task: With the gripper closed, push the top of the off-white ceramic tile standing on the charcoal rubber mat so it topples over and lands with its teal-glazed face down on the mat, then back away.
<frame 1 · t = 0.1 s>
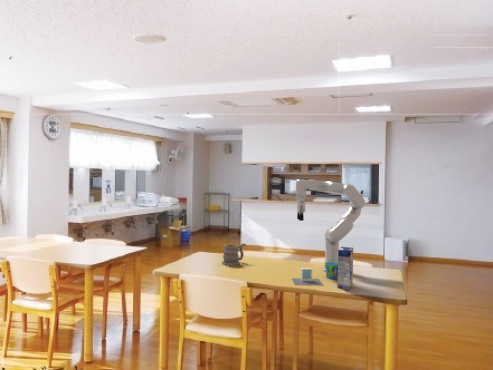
hand: (300, 219, 291), 37 cm above the table, tool pointing down, fingers open, 9 cm apart
juice carton: (344, 287, 247), on the table
tankard: (234, 263, 310), on the table
snack cup: (332, 278, 268), on the table
mat: (307, 282, 256), on the table
tile: (306, 280, 259), point 1 cm above the table, touching mat
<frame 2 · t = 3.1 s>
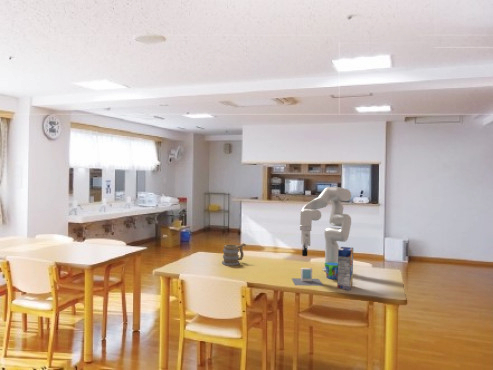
hand: (304, 255, 265), 15 cm above the table, tool pointing down, fingers closed
nothing on the table moved.
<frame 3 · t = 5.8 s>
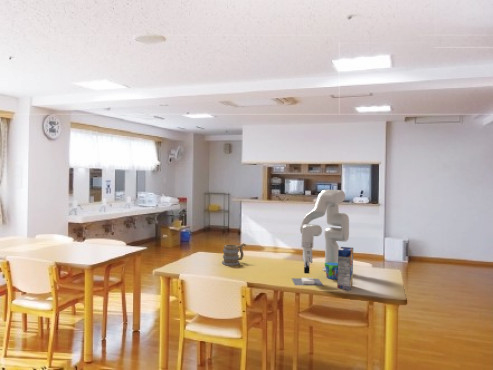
hand: (306, 273, 258), 6 cm above the table, tool pointing down, fingers closed
tile: (306, 279, 258), point 2 cm above the table, tilted 90°, touching mat
everything else where it was.
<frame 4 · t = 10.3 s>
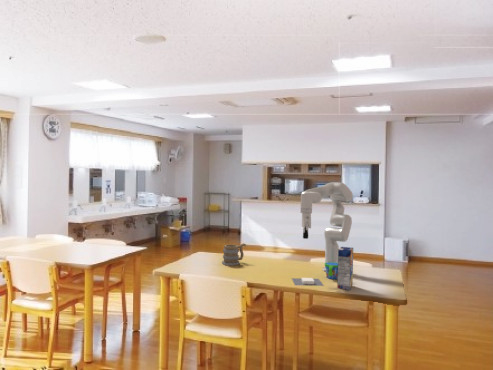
hand: (305, 238, 265), 27 cm above the table, tool pointing down, fingers closed
nothing on the table moved.
at the end: tile tilted 90°; tile inside the target area (2.9 cm from its centre), point 1.7 cm above the table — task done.
